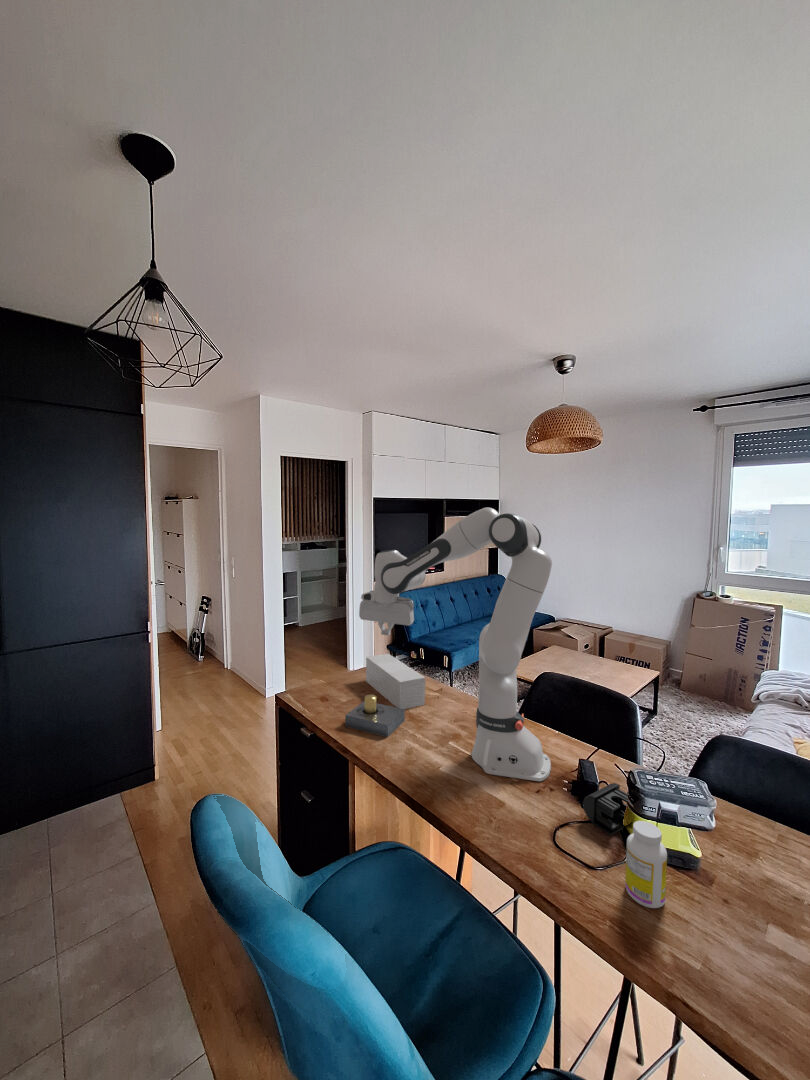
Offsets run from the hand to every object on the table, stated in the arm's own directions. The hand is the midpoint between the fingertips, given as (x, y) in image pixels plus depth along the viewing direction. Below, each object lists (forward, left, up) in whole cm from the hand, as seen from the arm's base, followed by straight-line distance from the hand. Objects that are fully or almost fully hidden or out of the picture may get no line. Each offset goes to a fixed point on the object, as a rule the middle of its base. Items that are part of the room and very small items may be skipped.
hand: (385, 634), depth 154 cm
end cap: (-72, +25, -29) cm, 82 cm away
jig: (0, +7, -29) cm, 30 cm away
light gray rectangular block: (+6, -20, -30) cm, 37 cm away
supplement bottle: (-78, +45, -29) cm, 95 cm away
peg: (+2, +7, -28) cm, 29 cm away
